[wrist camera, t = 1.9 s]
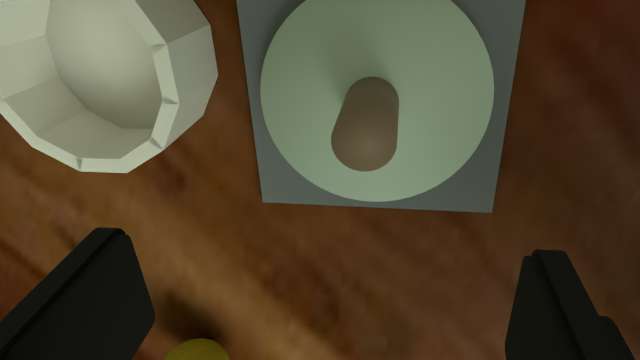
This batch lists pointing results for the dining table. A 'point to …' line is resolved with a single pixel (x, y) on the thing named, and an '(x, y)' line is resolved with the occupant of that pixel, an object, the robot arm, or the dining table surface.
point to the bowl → (104, 77)
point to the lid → (377, 94)
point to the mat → (451, 195)
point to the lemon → (198, 351)
